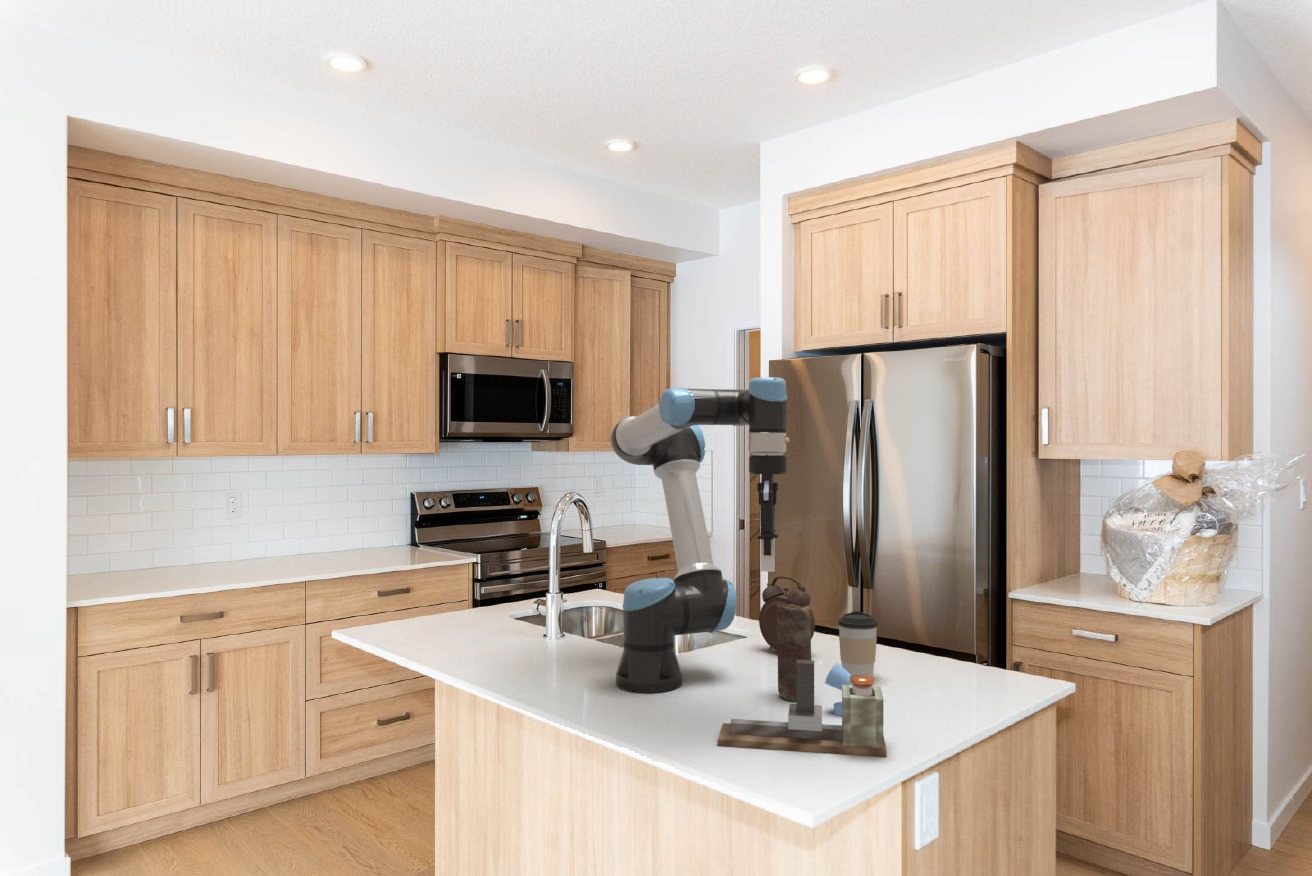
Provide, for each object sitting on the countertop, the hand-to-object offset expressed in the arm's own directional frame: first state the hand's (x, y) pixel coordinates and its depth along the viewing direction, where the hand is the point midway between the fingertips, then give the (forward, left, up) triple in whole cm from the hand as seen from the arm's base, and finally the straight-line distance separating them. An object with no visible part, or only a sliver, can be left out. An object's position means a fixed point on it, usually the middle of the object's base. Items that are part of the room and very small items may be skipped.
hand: (767, 570), depth 177 cm
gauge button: (+18, -14, -25) cm, 34 cm away
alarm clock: (+2, +51, -30) cm, 59 cm away
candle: (+5, +14, -30) cm, 33 cm away
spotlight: (+15, +5, -30) cm, 34 cm away
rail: (+7, -14, -29) cm, 33 cm away
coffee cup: (+19, +31, -30) cm, 47 cm away
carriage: (+8, -14, -26) cm, 30 cm away
